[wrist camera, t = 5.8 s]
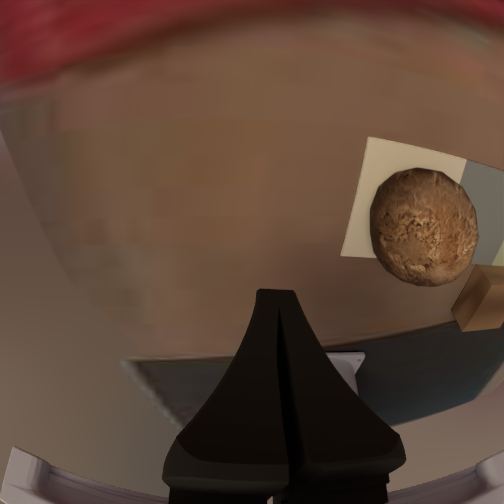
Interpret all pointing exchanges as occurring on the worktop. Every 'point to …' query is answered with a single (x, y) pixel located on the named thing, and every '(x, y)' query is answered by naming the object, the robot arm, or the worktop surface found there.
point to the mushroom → (423, 227)
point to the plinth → (481, 299)
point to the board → (459, 169)
